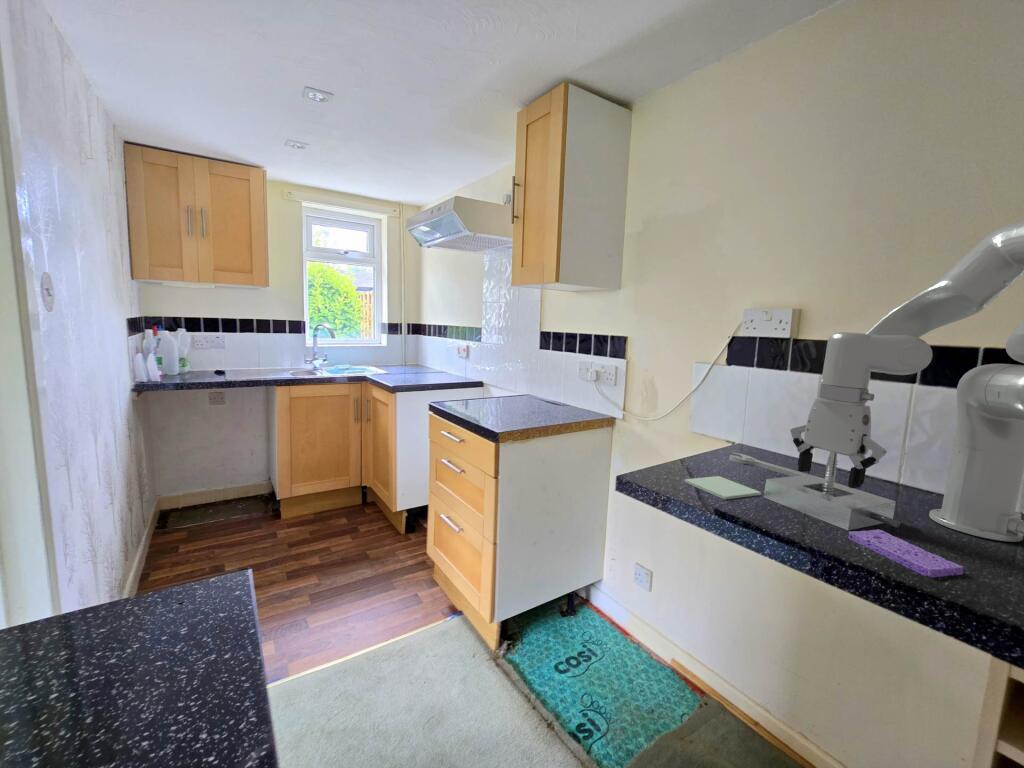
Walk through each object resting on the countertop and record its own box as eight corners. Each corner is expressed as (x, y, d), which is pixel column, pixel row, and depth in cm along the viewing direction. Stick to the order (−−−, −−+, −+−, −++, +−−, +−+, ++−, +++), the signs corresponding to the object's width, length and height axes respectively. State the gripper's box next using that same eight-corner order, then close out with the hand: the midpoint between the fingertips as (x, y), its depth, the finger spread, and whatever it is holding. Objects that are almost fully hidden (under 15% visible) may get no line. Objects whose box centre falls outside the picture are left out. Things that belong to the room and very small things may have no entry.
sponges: (877, 539, 79) (879, 529, 78) (963, 578, 66) (966, 566, 66) (846, 541, 77) (847, 530, 77) (928, 581, 65) (930, 569, 65)
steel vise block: (917, 530, 83) (921, 509, 82) (873, 540, 77) (877, 518, 76) (806, 491, 101) (809, 474, 101) (763, 497, 95) (766, 479, 95)
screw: (819, 503, 94) (844, 512, 90) (805, 505, 92) (830, 514, 88) (829, 443, 92) (854, 449, 88) (814, 444, 90) (840, 450, 86)
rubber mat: (760, 494, 97) (761, 492, 97) (724, 499, 92) (725, 496, 92) (718, 478, 107) (718, 476, 106) (684, 481, 102) (684, 479, 102)
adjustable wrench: (832, 487, 108) (833, 480, 108) (817, 490, 105) (819, 482, 105) (737, 457, 130) (738, 451, 129) (723, 459, 126) (723, 453, 126)
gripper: (905, 403, 82) (888, 493, 84) (809, 389, 97) (797, 465, 99) (882, 403, 79) (865, 496, 81) (787, 388, 94) (775, 466, 96)
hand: (827, 478), depth 90 cm, fingers open, 9 cm apart
